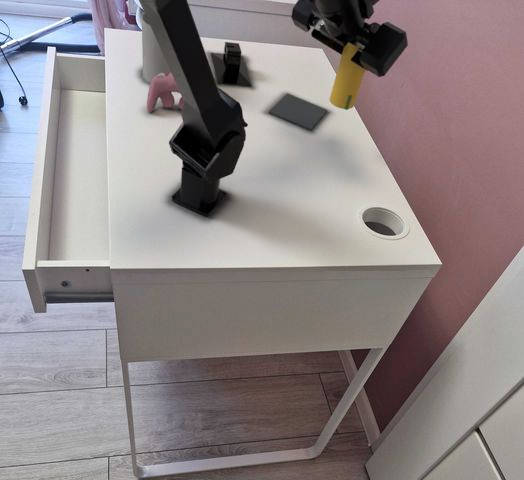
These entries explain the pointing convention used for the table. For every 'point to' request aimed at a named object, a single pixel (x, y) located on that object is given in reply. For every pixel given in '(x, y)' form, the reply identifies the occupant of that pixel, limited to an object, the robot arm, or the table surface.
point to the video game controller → (162, 91)
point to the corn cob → (347, 80)
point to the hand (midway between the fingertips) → (358, 61)
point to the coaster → (298, 111)
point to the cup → (151, 53)
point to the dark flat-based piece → (231, 66)
